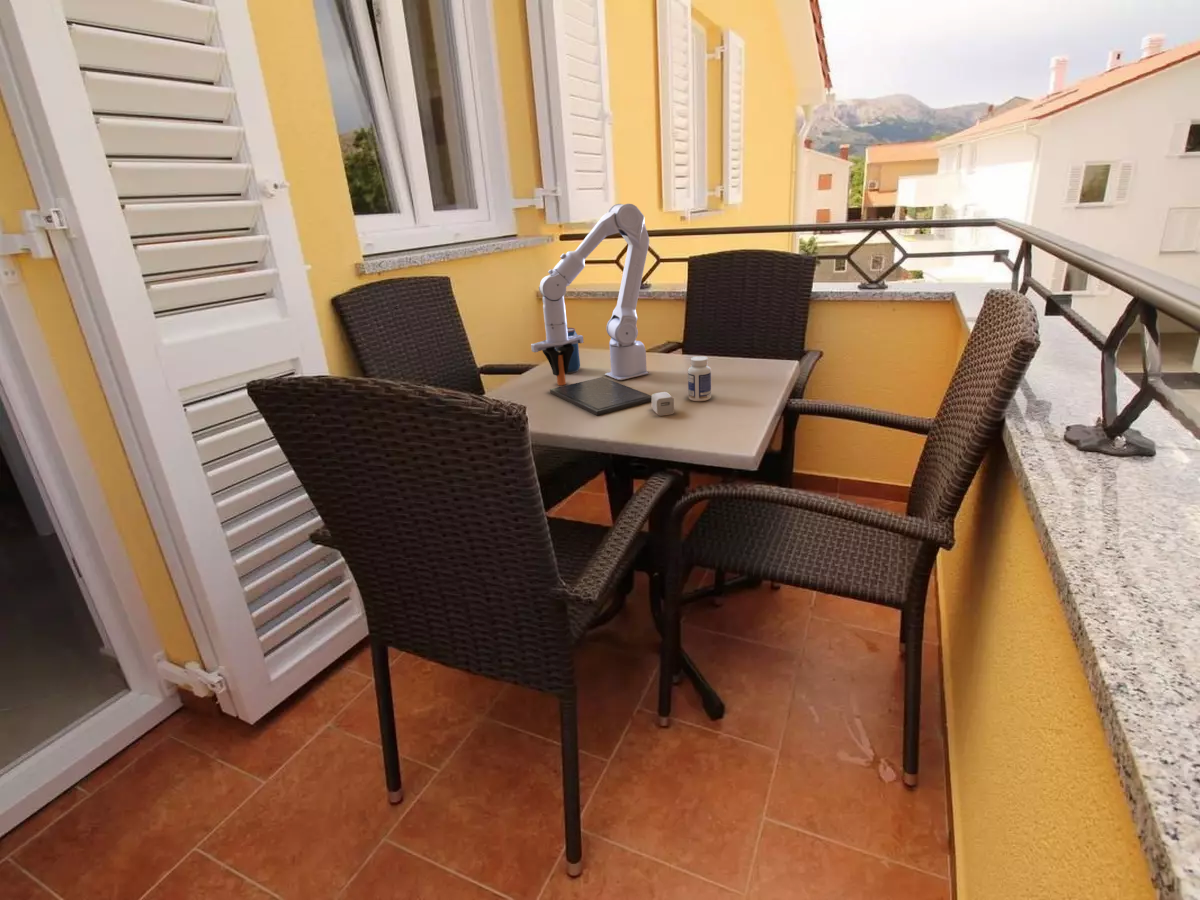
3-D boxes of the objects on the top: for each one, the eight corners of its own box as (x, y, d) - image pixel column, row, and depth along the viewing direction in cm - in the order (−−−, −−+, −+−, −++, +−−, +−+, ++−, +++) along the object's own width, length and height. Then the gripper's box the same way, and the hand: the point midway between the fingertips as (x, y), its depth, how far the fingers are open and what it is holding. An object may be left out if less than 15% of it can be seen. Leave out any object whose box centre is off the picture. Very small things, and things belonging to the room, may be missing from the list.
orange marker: (563, 382, 170) (560, 350, 167) (567, 384, 169) (564, 351, 165) (555, 384, 169) (552, 351, 166) (559, 386, 168) (556, 353, 164)
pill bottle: (712, 395, 151) (712, 355, 147) (709, 402, 146) (708, 361, 142) (690, 394, 152) (690, 355, 149) (686, 401, 148) (685, 361, 144)
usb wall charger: (657, 416, 140) (656, 399, 138) (648, 407, 146) (648, 390, 144) (674, 413, 140) (673, 396, 139) (665, 404, 147) (664, 388, 145)
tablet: (602, 380, 169) (602, 376, 169) (654, 400, 150) (654, 396, 150) (550, 392, 162) (549, 388, 162) (597, 415, 143) (596, 411, 142)
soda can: (585, 368, 182) (581, 327, 178) (571, 374, 177) (567, 332, 173) (565, 366, 186) (561, 326, 181) (551, 372, 181) (547, 331, 176)
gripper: (572, 317, 169) (577, 365, 174) (524, 325, 163) (529, 376, 168) (585, 320, 164) (589, 370, 169) (535, 329, 157) (541, 381, 162)
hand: (560, 373), depth 168 cm, fingers closed on orange marker, 2 cm apart
